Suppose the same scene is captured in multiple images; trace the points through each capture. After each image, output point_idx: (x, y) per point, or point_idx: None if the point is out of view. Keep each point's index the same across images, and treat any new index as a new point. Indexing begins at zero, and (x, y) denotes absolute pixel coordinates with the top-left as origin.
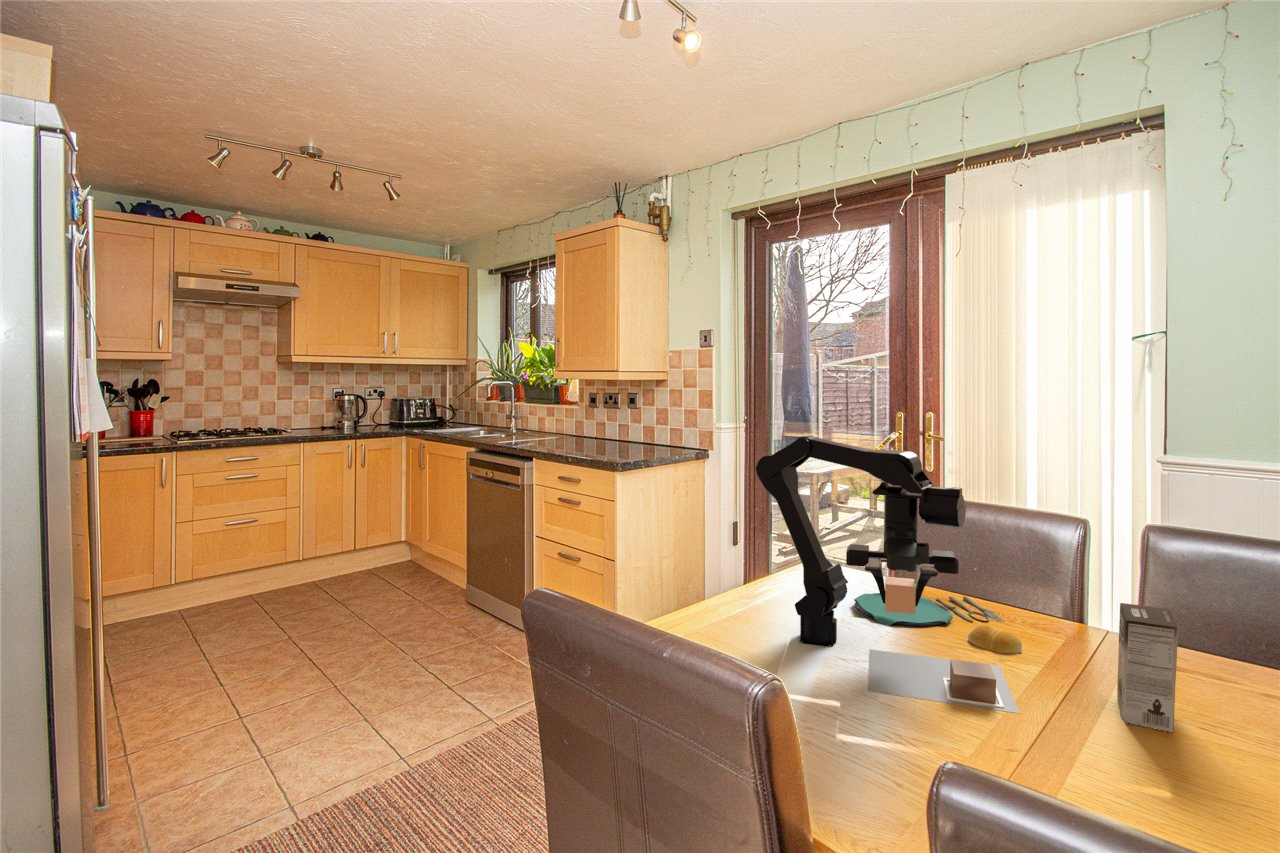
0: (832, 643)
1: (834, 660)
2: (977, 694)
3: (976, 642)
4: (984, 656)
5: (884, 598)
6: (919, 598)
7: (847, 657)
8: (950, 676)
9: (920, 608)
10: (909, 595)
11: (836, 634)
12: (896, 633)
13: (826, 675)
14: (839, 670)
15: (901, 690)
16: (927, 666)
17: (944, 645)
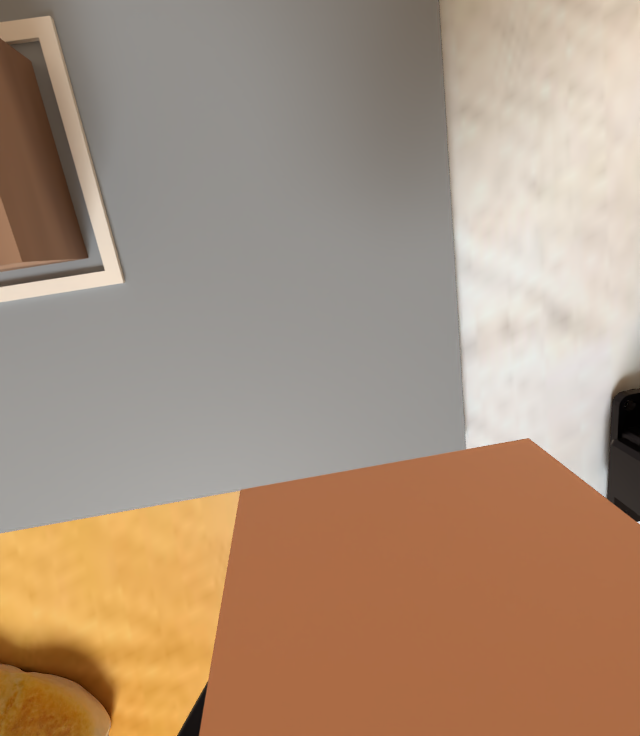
0: (622, 431)
1: (598, 287)
2: None
3: (62, 701)
4: (32, 622)
5: None
6: (189, 726)
7: (545, 347)
8: (65, 238)
9: None
10: (312, 664)
11: (628, 484)
12: None
13: (628, 91)
14: (573, 183)
15: (280, 25)
16: (212, 386)
17: (192, 649)
